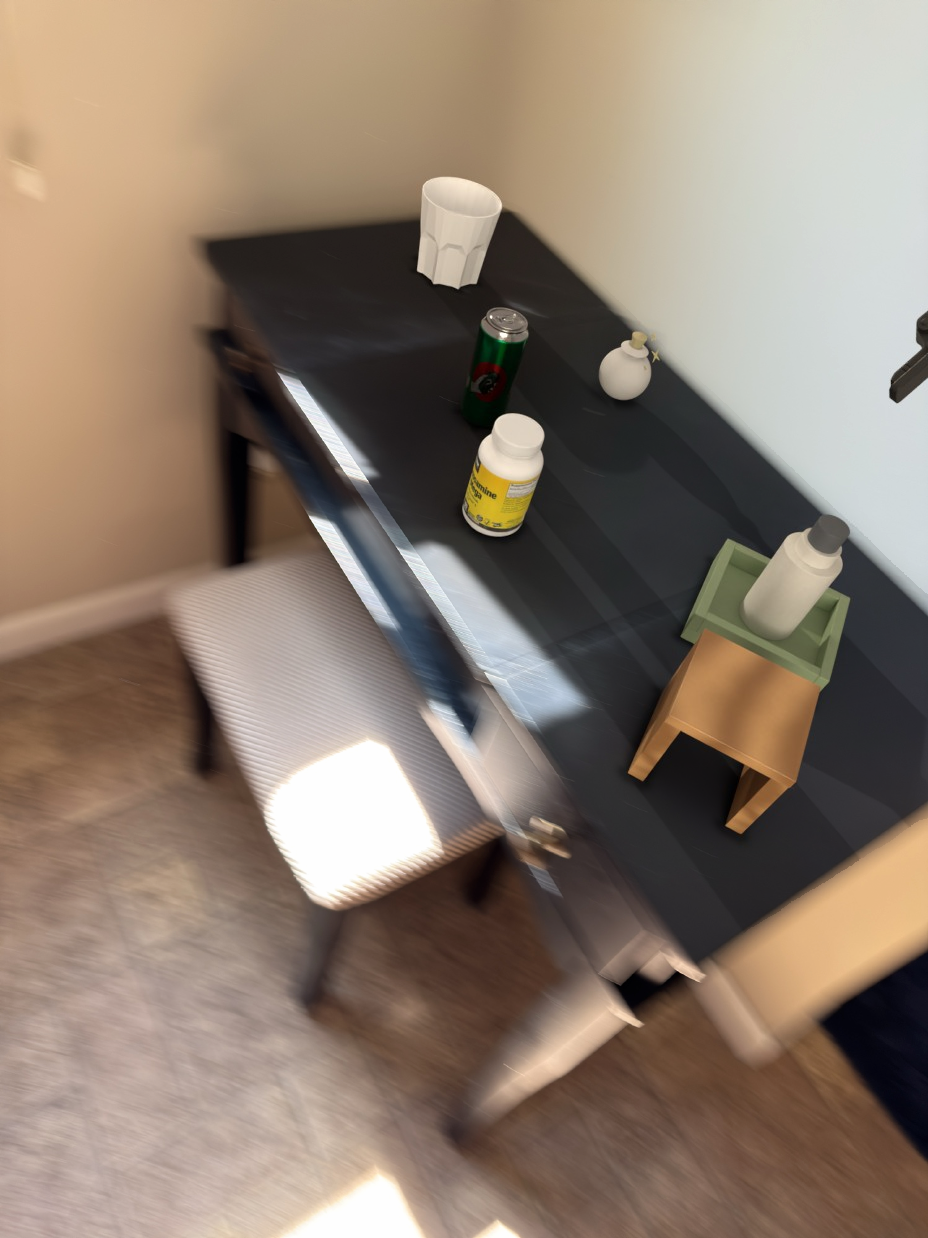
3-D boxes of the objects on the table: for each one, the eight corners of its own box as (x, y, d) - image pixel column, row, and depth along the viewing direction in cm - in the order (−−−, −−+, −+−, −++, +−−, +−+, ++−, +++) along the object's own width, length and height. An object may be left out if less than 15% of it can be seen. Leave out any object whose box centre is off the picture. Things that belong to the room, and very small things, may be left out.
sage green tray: (832, 620, 87) (850, 597, 84) (809, 703, 79) (829, 681, 77) (713, 561, 89) (727, 537, 86) (680, 637, 81) (695, 613, 78)
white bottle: (797, 613, 84) (869, 522, 75) (786, 649, 81) (859, 558, 71) (746, 588, 85) (810, 494, 76) (733, 622, 82) (798, 529, 72)
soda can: (510, 427, 96) (539, 332, 87) (468, 431, 94) (494, 335, 85) (493, 398, 99) (519, 304, 90) (452, 402, 97) (475, 305, 88)
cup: (444, 299, 110) (460, 223, 102) (394, 259, 114) (405, 183, 106) (499, 282, 115) (518, 209, 108) (450, 244, 119) (464, 171, 112)
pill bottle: (451, 500, 86) (474, 410, 78) (504, 491, 89) (533, 403, 81) (477, 544, 83) (504, 456, 75) (532, 533, 86) (564, 447, 78)
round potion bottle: (624, 377, 107) (654, 304, 100) (655, 415, 103) (688, 342, 96) (583, 380, 105) (610, 306, 97) (612, 420, 101) (643, 346, 93)
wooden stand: (767, 745, 75) (821, 686, 68) (740, 836, 69) (796, 781, 62) (662, 690, 77) (705, 627, 70) (626, 775, 70) (669, 714, 63)
